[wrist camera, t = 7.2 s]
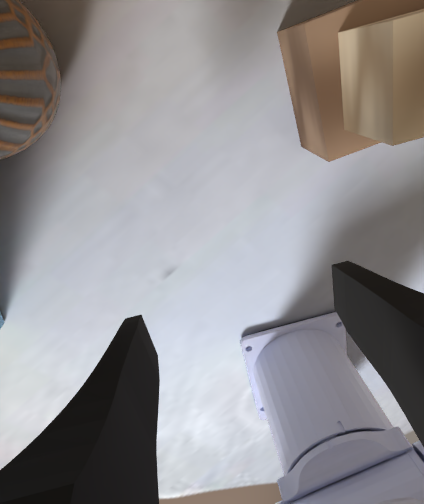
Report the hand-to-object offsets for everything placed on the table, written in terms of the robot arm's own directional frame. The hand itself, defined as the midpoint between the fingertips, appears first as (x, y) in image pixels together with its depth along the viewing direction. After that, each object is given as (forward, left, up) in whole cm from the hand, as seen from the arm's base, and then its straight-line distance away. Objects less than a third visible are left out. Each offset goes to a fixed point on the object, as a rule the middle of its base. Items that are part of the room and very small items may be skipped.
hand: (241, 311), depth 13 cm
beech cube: (+6, -9, -6) cm, 12 cm away
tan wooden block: (+6, -9, -10) cm, 15 cm away
